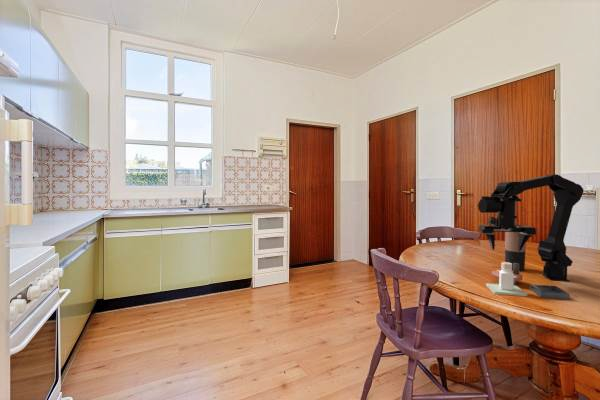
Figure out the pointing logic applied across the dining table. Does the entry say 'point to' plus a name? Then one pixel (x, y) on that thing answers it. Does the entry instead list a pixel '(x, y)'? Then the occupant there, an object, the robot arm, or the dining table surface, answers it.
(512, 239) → the travel mug
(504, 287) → the pepper shaker
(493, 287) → the board
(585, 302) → the dining table surface
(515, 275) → the handwheel
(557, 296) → the dark grey square frame
